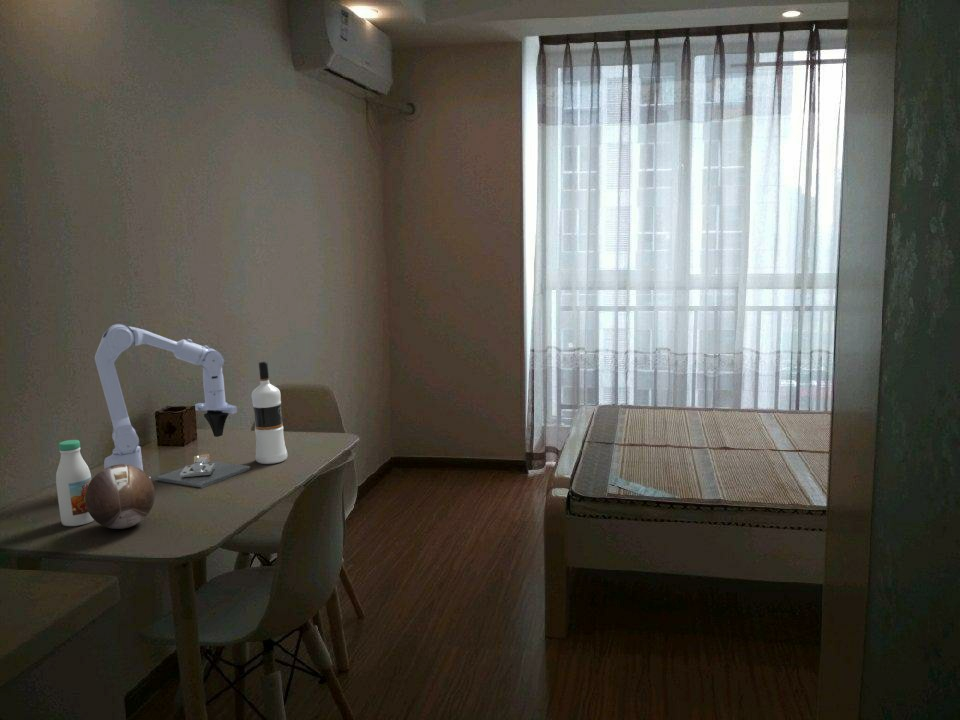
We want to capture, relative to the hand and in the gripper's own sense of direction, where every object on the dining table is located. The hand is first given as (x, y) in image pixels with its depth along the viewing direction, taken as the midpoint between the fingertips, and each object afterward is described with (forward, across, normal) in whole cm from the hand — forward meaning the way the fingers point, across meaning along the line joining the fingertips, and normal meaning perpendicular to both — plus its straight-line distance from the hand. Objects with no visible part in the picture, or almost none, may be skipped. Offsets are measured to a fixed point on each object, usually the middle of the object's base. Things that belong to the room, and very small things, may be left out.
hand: (218, 435), depth 239 cm
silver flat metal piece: (+8, +1, +7) cm, 11 cm away
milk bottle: (+10, -1, +48) cm, 49 cm away
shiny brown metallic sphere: (+10, -15, +46) cm, 50 cm away
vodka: (+9, -11, -10) cm, 17 cm away
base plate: (+9, -2, +8) cm, 13 cm away
